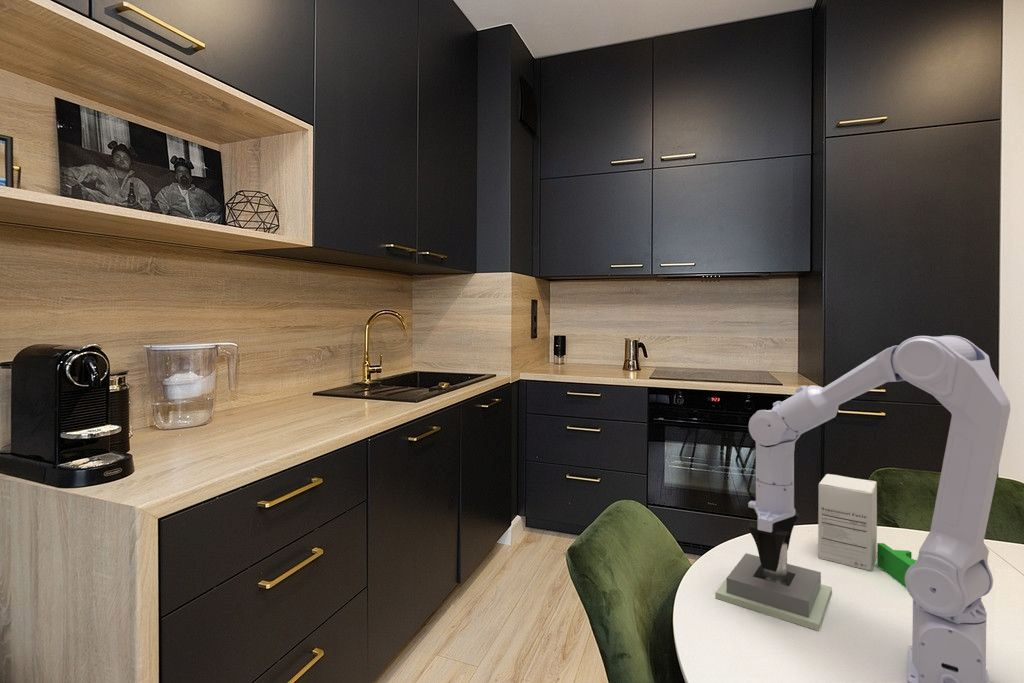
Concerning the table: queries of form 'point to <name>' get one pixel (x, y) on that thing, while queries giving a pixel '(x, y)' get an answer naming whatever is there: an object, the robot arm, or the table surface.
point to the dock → (777, 592)
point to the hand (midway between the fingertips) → (774, 560)
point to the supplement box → (847, 521)
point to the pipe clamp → (894, 561)
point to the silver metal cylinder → (779, 569)
